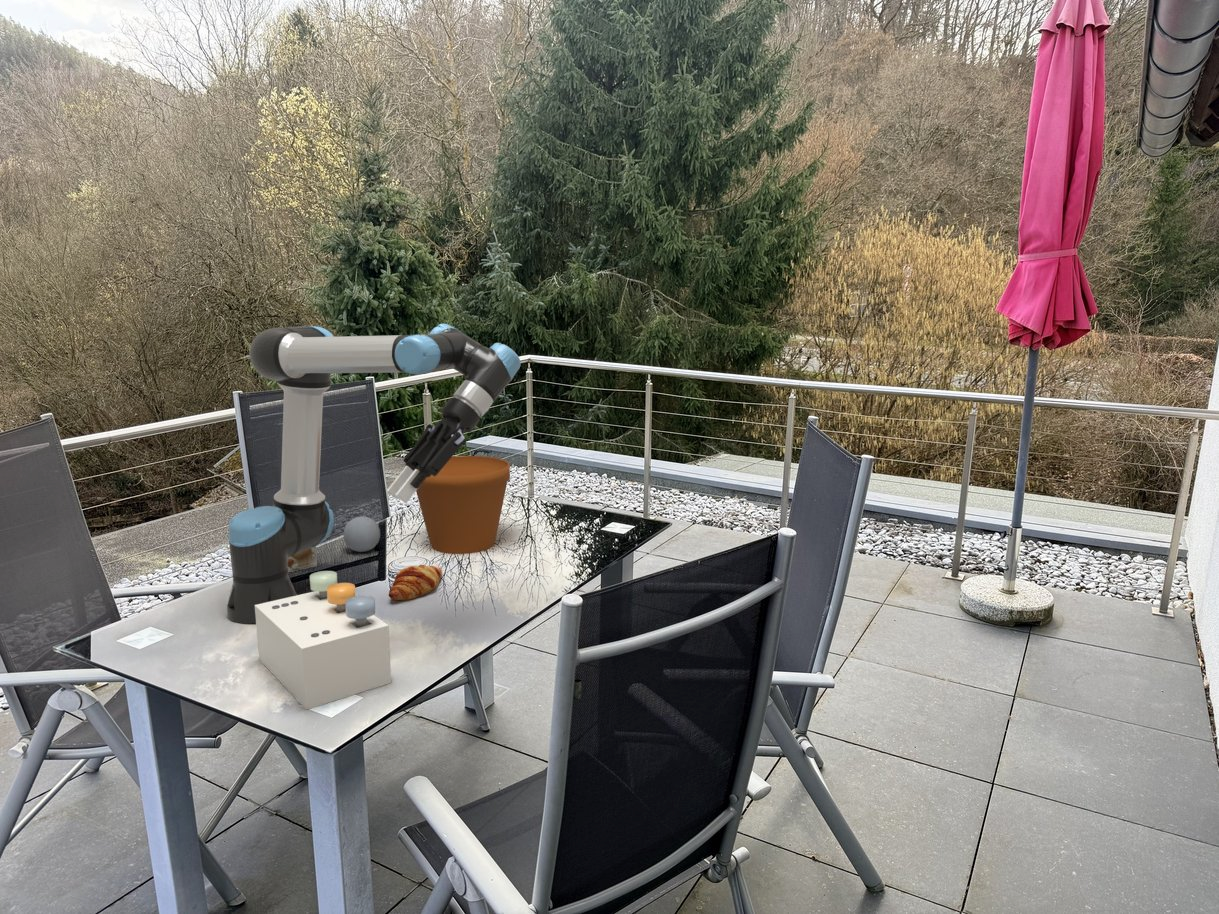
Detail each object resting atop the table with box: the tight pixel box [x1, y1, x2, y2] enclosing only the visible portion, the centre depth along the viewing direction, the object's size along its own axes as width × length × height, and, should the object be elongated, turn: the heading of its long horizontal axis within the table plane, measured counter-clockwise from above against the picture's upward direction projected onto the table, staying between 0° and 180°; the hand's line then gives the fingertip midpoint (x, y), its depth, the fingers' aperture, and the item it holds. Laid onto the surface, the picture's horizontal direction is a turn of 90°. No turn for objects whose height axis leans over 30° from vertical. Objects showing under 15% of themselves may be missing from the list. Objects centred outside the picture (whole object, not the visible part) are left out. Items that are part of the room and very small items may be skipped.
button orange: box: [327, 582, 356, 613], centre depth 158 cm, size 5×5×6 cm
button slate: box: [345, 595, 376, 628], centre depth 152 cm, size 5×5×6 cm
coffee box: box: [287, 546, 318, 573], centre depth 215 cm, size 9×6×16 cm
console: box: [255, 591, 392, 711], centre depth 157 cm, size 16×26×12 cm, turn 40°
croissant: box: [388, 564, 443, 601], centre depth 201 cm, size 21×10×8 cm, turn 160°
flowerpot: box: [415, 455, 511, 555], centre depth 236 cm, size 28×28×24 cm
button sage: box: [309, 570, 338, 600], centre depth 165 cm, size 5×5×6 cm
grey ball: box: [342, 516, 381, 553], centre depth 230 cm, size 10×10×10 cm
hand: (396, 496), depth 162 cm, fingers open, 3 cm apart
